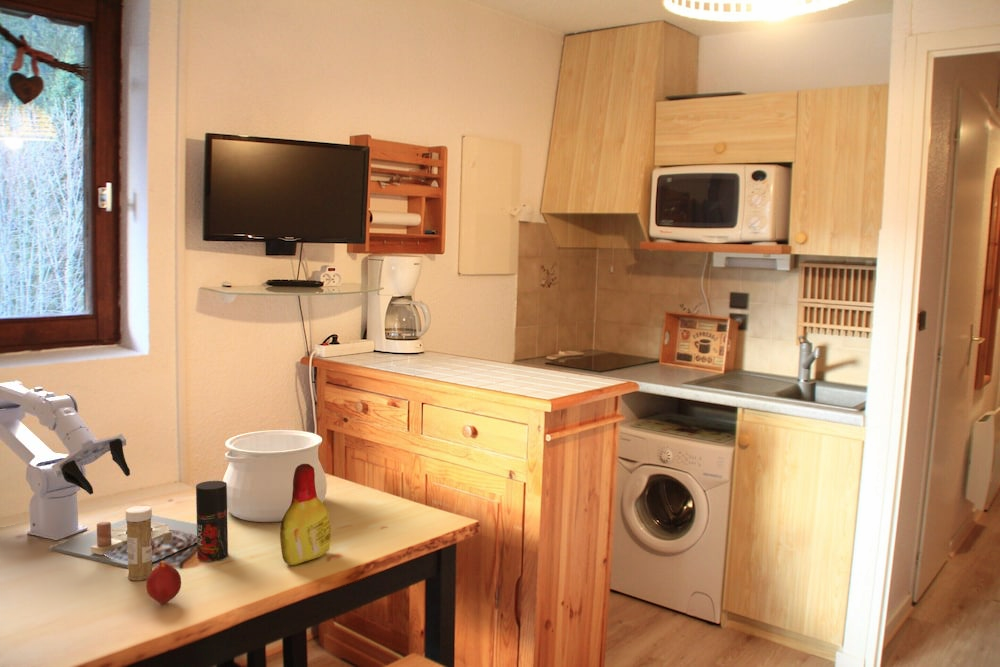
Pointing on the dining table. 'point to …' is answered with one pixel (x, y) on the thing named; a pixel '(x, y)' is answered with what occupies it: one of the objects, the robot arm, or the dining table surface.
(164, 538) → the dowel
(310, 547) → the bottle
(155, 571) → the onion
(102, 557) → the post board
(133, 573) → the sprinkles bottle
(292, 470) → the pot
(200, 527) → the deodorant
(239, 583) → the dining table surface
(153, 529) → the beige angular piece
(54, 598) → the dining table surface
